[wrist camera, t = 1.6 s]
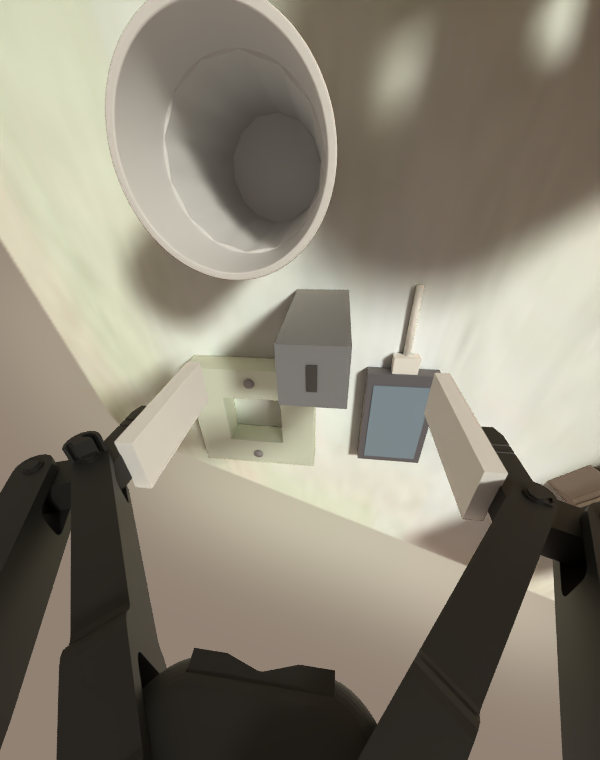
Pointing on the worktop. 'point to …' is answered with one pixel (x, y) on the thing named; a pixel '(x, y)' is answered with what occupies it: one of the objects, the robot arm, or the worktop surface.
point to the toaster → (579, 486)
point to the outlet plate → (251, 441)
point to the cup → (221, 133)
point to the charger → (315, 350)
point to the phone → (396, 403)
